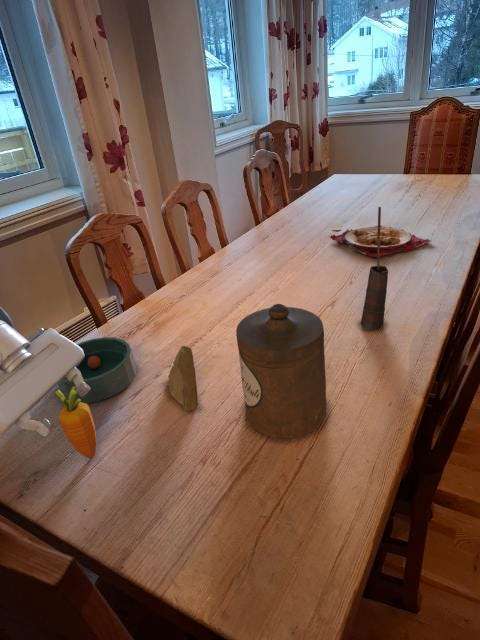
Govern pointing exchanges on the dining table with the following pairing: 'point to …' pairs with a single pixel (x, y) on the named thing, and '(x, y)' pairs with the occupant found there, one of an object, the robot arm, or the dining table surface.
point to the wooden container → (283, 370)
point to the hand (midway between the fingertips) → (69, 411)
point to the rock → (184, 379)
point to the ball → (94, 362)
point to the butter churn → (375, 292)
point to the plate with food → (389, 240)
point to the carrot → (78, 424)
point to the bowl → (103, 369)
